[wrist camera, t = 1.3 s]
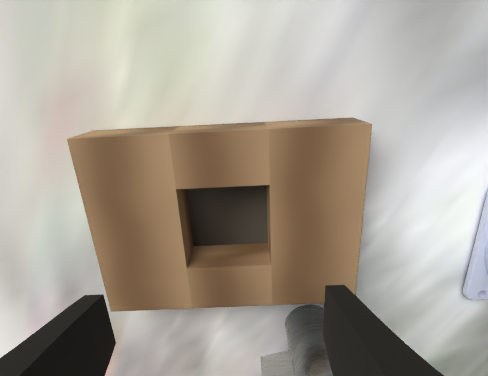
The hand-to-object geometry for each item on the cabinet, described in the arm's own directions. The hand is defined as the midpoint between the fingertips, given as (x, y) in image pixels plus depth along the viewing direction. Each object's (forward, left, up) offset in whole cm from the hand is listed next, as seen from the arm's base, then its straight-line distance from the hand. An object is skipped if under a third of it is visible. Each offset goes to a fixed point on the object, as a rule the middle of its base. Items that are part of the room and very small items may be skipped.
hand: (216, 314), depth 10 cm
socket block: (0, 0, -8) cm, 8 cm away
